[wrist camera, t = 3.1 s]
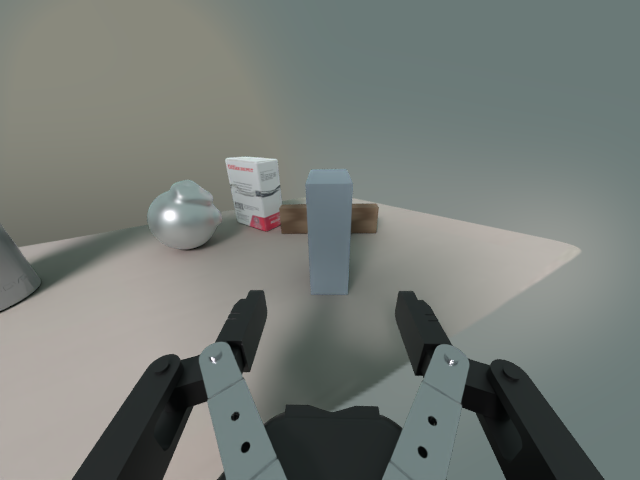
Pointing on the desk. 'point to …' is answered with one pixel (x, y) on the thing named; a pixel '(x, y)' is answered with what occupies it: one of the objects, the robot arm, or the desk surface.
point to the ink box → (255, 191)
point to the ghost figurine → (183, 216)
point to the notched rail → (296, 223)
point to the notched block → (329, 230)
